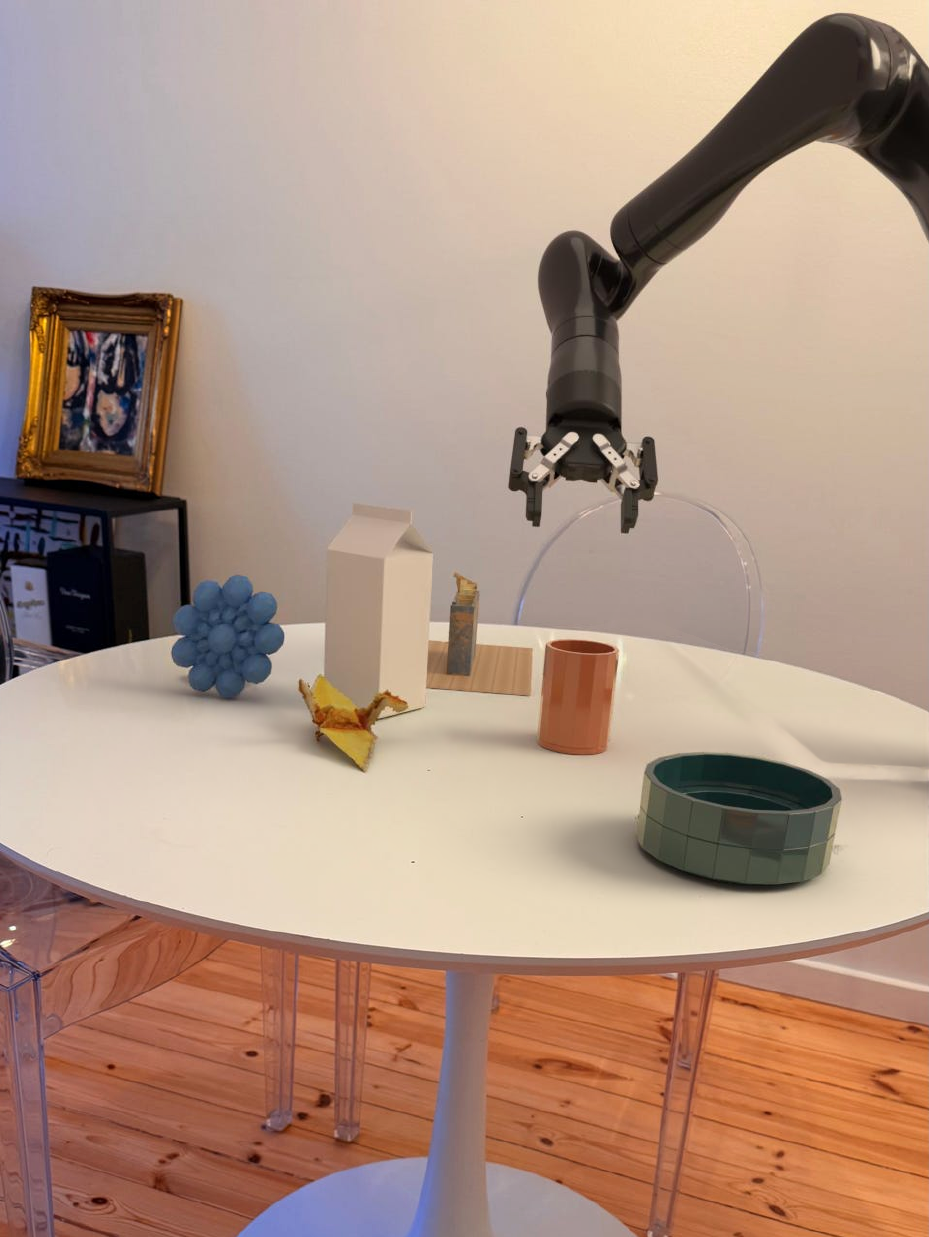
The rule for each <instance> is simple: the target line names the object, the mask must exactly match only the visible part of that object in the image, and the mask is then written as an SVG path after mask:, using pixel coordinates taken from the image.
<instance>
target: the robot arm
mask: <svg viewBox="0 0 929 1237" xmlns="http://www.w3.org/2000/svg"><path fill="white" fill-rule="evenodd" d="M815 142H819V143H822V144H823V143H824V144H825V143H826V144H833V145H838V146H841V147H843V148H847V149H849V150H850V151H852V152H853V153H855V154H857V155H858V156H860V157H861V158H862V159H864V160H865V161H866V162H867V163H869V164H870V165H871V166H872V167H873V168H875V169H876V171H878V172H879V173H880V174H881V175H883V176H884V177H885V179H887V180H888V181H890V183H892V185H894V186H895V188H897V189H898V191H899V192H900V193H901V194H902V196H903V197H904V198H905V199H906V200H907V202H908V203H909V205H910V207H911V208H912V210H913V212H914V214H915V216H916V218H917V220H918V223H919V226H920V227H921V230H922V232H923V234H924V236H925V239H926V241H927V242H928V244H929V66H928V64H927V63H926V62H925V60H924V58H922V56H921V55H920V54H919V52H918V51H917V50H916V48H915V47H914V45H913V44H912V43H911V42H910V40H909V39H908V38H907V37H905V35H904V34H902V33H901V32H900V31H899V30H897V29H896V28H895V27H893V26H892V25H890V24H887V23H886V22H882V21H879V20H876V19H874V18H870V17H867V16H864V15H860V14H856V13H852V12H851V13H850V12H835V13H832V14H827V15H824V16H822V17H821V18H819V19H817V20H815V21H814V22H812V23H810V24H809V25H808V26H807V27H806V28H805V29H804V30H803V31H802V32H800V34H798V35H797V36H796V37H795V38H794V40H793V41H791V42H790V43H789V45H787V47H786V48H785V49H784V50H783V51H782V52H781V53H780V54H779V56H778V57H777V58H776V59H775V60H774V61H773V62H772V63H771V65H770V66H769V67H768V68H767V69H766V71H764V72H763V74H762V75H761V76H760V77H759V78H758V79H757V80H756V82H755V83H754V84H753V85H752V86H751V87H750V89H748V91H747V92H745V94H744V95H743V96H742V97H741V98H740V99H739V100H738V101H737V102H736V103H735V104H734V105H733V107H732V108H730V110H729V111H728V112H727V113H726V114H725V115H724V116H723V117H722V118H721V119H720V120H719V121H718V122H717V123H716V125H715V126H713V128H712V129H711V130H710V131H709V132H708V133H707V134H706V135H705V136H704V137H702V139H701V140H700V141H698V143H697V144H696V145H694V147H692V148H691V149H690V150H689V151H688V152H687V153H686V154H685V155H683V156H682V157H681V158H679V160H678V161H676V162H675V163H674V164H673V165H672V166H671V167H669V168H668V169H667V170H666V171H664V173H662V174H661V175H660V176H658V177H657V178H656V179H655V180H653V181H652V182H651V183H650V184H649V185H648V186H646V187H645V188H644V189H643V190H641V191H640V192H639V193H637V194H636V195H634V197H632V198H631V199H630V200H629V201H628V202H627V203H625V204H623V206H622V207H621V208H619V210H617V212H616V213H615V214H614V216H613V218H612V219H611V222H610V227H609V236H610V237H609V238H610V241H611V244H612V247H613V249H614V251H615V253H616V255H617V256H618V258H619V259H618V258H617V257H615V256H614V255H613V254H612V253H611V252H609V251H608V250H607V249H606V248H604V246H602V245H601V244H600V243H598V241H596V240H595V239H594V238H593V237H592V236H590V235H589V234H587V233H585V232H583V231H581V230H577V229H576V230H575V229H573V230H566V231H564V232H561V233H559V234H558V235H556V236H555V237H554V238H553V239H552V240H551V241H550V242H549V243H548V245H547V246H546V248H545V250H544V252H543V254H542V256H541V258H540V262H539V265H538V271H537V288H538V294H539V298H540V302H541V306H542V310H543V314H544V316H545V321H546V324H547V327H548V330H549V333H550V335H551V341H550V364H549V369H548V374H547V382H546V383H547V384H546V391H545V399H546V408H545V409H546V410H545V411H546V412H545V413H546V414H545V431H544V433H543V434H542V435H536V434H535V435H533V434H528V430H527V428H525V427H523V426H519V427H516V428H515V430H514V436H513V444H512V450H511V451H512V452H511V458H510V459H511V460H510V468H509V476H508V486H507V487H508V490H510V491H511V492H518V491H521V492H523V493H524V494H525V496H526V497H525V499H526V501H525V519H526V521H528V522H532V523H531V526H532V527H533V528H540V526H541V520H542V511H543V510H542V509H543V492H544V491H545V490H546V489H547V488H551V487H553V486H554V484H555V483H557V482H558V481H559V480H560V479H561V478H564V479H565V481H568V482H576V481H582V482H583V481H584V482H586V483H593V484H595V483H596V484H597V483H598V481H600V482H601V483H602V484H603V486H604V487H606V489H607V490H608V491H609V492H611V493H615V494H616V496H618V497H619V499H620V500H621V502H620V534H626V535H627V534H629V533H630V530H631V529H635V527H636V525H637V522H638V517H639V501H642V500H643V501H645V502H651V501H652V500H654V496H655V492H656V487H657V486H658V482H659V474H658V462H657V453H656V452H657V451H656V442H655V441H656V440H655V439H654V438H653V437H652V436H645V437H643V438H642V440H641V442H630V441H629V442H627V440H626V439H625V438H624V436H623V432H622V429H623V428H622V427H623V424H622V423H623V422H622V421H623V420H622V417H623V416H622V415H623V412H622V411H623V410H622V407H623V406H622V405H623V402H622V401H623V400H622V399H623V395H622V394H623V393H622V392H623V389H622V388H623V386H622V385H623V383H622V382H623V381H622V380H623V379H622V370H621V365H620V331H619V329H620V328H619V325H618V322H619V321H620V320H621V319H622V318H623V316H624V315H625V314H626V313H627V311H629V309H630V308H631V306H632V305H633V303H634V302H635V300H636V299H637V298H638V297H639V295H640V294H641V293H642V291H643V290H644V289H645V288H646V286H647V285H648V284H649V283H650V282H651V281H652V280H653V279H654V277H655V276H656V275H657V274H658V272H659V271H660V270H661V269H662V268H663V267H665V266H666V265H668V264H669V263H671V262H672V261H673V260H675V259H676V258H677V257H679V256H680V255H681V254H682V253H685V251H687V250H688V249H689V248H691V247H692V246H693V245H695V244H696V243H697V242H699V241H700V240H701V239H702V238H704V237H705V236H706V235H707V234H709V233H710V232H711V231H712V230H713V229H714V228H715V227H716V225H717V224H719V222H720V221H721V220H722V219H723V218H724V217H725V215H726V214H727V212H728V211H729V209H730V208H731V207H732V205H733V204H734V203H735V201H736V200H737V198H738V197H739V196H740V195H741V193H742V192H743V191H744V190H745V189H746V187H747V186H748V185H750V183H751V182H752V181H753V180H754V179H756V178H757V177H758V176H760V174H762V173H763V172H764V171H765V170H767V169H768V168H769V167H771V166H772V165H774V164H775V163H777V162H778V161H780V160H782V159H784V158H786V157H787V156H789V155H791V154H792V153H794V152H796V151H799V150H800V149H802V148H804V147H806V146H809V145H810V144H812V143H815ZM535 451H539V452H540V455H542V457H543V458H542V459H541V461H540V462H539V464H538V465H537V466H536V467H535V468H534V469H533V470H531V471H530V472H528V471H526V470H524V463H525V461H526V460H529V458H531V457H532V456H533V455H534V453H535ZM625 457H628V458H630V459H631V463H632V464H634V465H633V466H634V468H638V474H639V479H638V478H637V477H636V476H635V475H634V474H633V473H632V472H631V471H630V470H629V468H628V464H627V461H625Z"/></svg>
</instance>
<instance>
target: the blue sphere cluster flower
mask: <svg viewBox="0 0 929 1237" xmlns="http://www.w3.org/2000/svg"><path fill="white" fill-rule="evenodd" d="M253 592H254V586H253V583H252V581H251V579H250V578H249V577H247V576H245V575H241V574H235V575H232V576H230V577H229V578H228V579H227V580H226V581H225V582H224V584H223V585H222V586H221V584H220V583H219V582H218V581H215V580H210V579H206V580H204V581H200V583H199V584H198V585H197V586H196V587H195V589H194V590H193V593H192V603H193V605H191V604H185V605H182V606H180V607H179V608H178V610H177V611H176V612H175V613H174V614H173V617H172V618H173V619H172V625H173V629H174V632H176V633H177V634H178V635H179V636H182V637H179V638H178V639H177V640H176V641H175V643H174V644H173V645H172V647H171V651H170V656H171V659H172V662H173V663H174V664H175V665H176V666H177V667H180V668H186V669H188V668H190V667H191V668H190V669H189V670H188V674H187V682H188V684H189V686H190V688H191V689H193V690H194V691H195V692H201V693H205V692H208V691H210V690H211V689H212V688H214V687H215V690H216V692H217V694H218V695H220V697H222V698H226V699H233V698H236V697H238V696H239V695H241V693H242V692H243V690H244V689H245V688H246V682H247V683H249V684H254V685H259V684H261V683H263V682H264V683H265V681H266V680H267V678H269V676H270V675H271V673H272V669H273V663H272V661H271V658H270V657H269V656H270V655H273V654H276V653H277V652H278V651H280V649H281V648H282V646H283V645H284V642H285V632H284V629H283V627H281V625H280V624H278V623H274V622H270V621H271V620H272V619H273V618H274V617H275V616H276V615H277V610H278V601H277V599H276V598H275V596H274V595H273V594H272V593H271V592H266V591H259V592H255V593H254V594H253Z"/></svg>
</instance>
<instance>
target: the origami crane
mask: <svg viewBox="0 0 929 1237" xmlns="http://www.w3.org/2000/svg"><path fill="white" fill-rule="evenodd" d="M297 682H298V691H299V693H300V694H301V696H302V699H303V701H304V703H305V705H306V708H307V710H309V713H310V716H311V718H312V719H311V722H312V724H314V725H316V727H317V729H318V730H315V732H314V735H315V736H314V737H315V738H316V741H317V742H320V739H321V737H322V736H324V735H325V736H326V737H327V738H328V739H329V740H330V741H331V742H332V743H333V744H334V745H335V746H336V747H337V748H338V749H339V750H340V751H343V753H344V754H345V755H346V756H348V757H349V758H351V759H352V760H353V761H354V762H355V763H356V766H357V767H359V768H360V769H362V771H364V772H365V773H367V772H368V766H369V764H370V760H371V758H372V754H373V751H374V747H375V744H376V742H377V739H378V735H376V734H375V732H374V730H372V726H375V725H376V721H377V720H379V719H378V716H379V715H380V714H381V711H382V710H385V707H387V706H389V708H393V710H392V711H396V712H401V711H404V710H406V709H407V708H408V707H409V706H408V705H407V702H406V701H404V700H401V699H400V698H399V696H393V695H391V692H389V691H388V689H387V691H385V692H383V693H382V692H381V693H378V694H376V695H375V696H374V697H375V699H374V700H372V701H373V702H372V703H371V704H370V705H369V706H368V707H367V708H366V709H364V708H365V707H363V708H360V709H359V710H358V707H357V706H356V705H355V704H354V703H353V702H352V701H351V700H350V699H349V698H348V697H346V696H344V694H343V693H341V692H339V691H338V690H337V689H336V688H335V687H333V686H331V684H330V683H329V682H328V681H327V680H326V679H325V677H324V675H322V673H319V675H317V676H316V677H315V679H314V681H313V683H312V685H311V687H310V683H309V682H305V681H304V679H302V678H299V680H298V681H297Z"/></svg>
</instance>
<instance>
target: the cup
mask: <svg viewBox="0 0 929 1237" xmlns="http://www.w3.org/2000/svg"><path fill="white" fill-rule="evenodd" d="M619 657H620V649H619V648H618V647H617V646H615V645H612V644H610V643H607V642H602V641H596V640H588V639H579V638H578V639H576V638H575V639H574V638H563V639H553V640H549V641H547V642H546V643H545V646H544V658H543V669H542V679H541V680H542V682H541V691H540V702H539V711H538V712H539V714H538V725H537V743H538V745H539V746H541V747H542V748H544V749H546V750H549V751H552V752H556V753H561V754H568V755H582V756H583V755H596V754H601V753H604V752H606V751H608V748H609V741H610V736H611V726H612V718H613V712H614V711H613V709H614V701H615V692H616V685H617V684H616V683H617V675H618V665H619Z"/></svg>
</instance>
